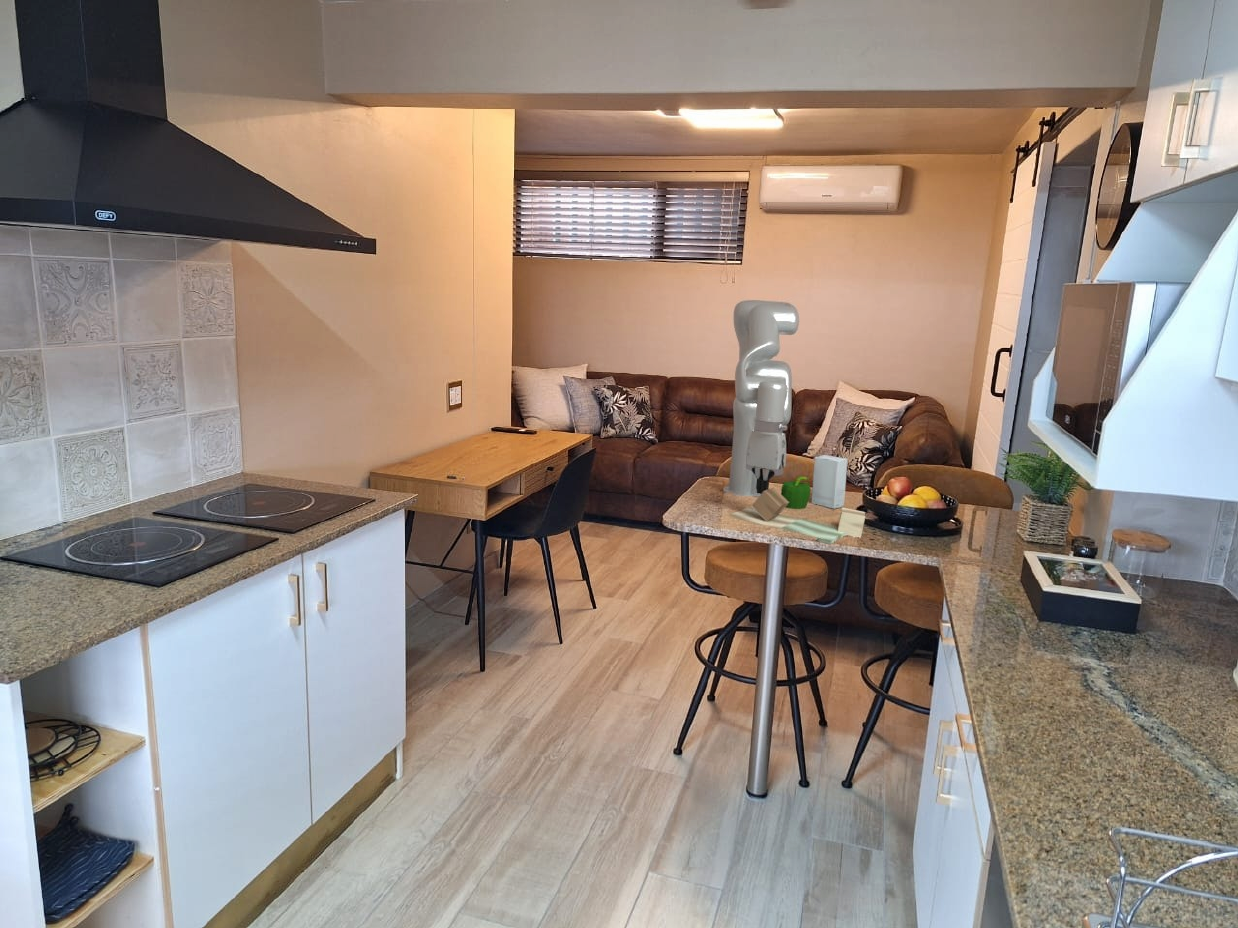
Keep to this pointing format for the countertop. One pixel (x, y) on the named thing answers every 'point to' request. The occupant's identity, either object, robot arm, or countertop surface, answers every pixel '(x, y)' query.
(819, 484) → the skincare box
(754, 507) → the walnut block
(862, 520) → the beech block
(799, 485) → the bell pepper
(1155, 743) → the countertop surface
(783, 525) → the board
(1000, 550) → the countertop surface
